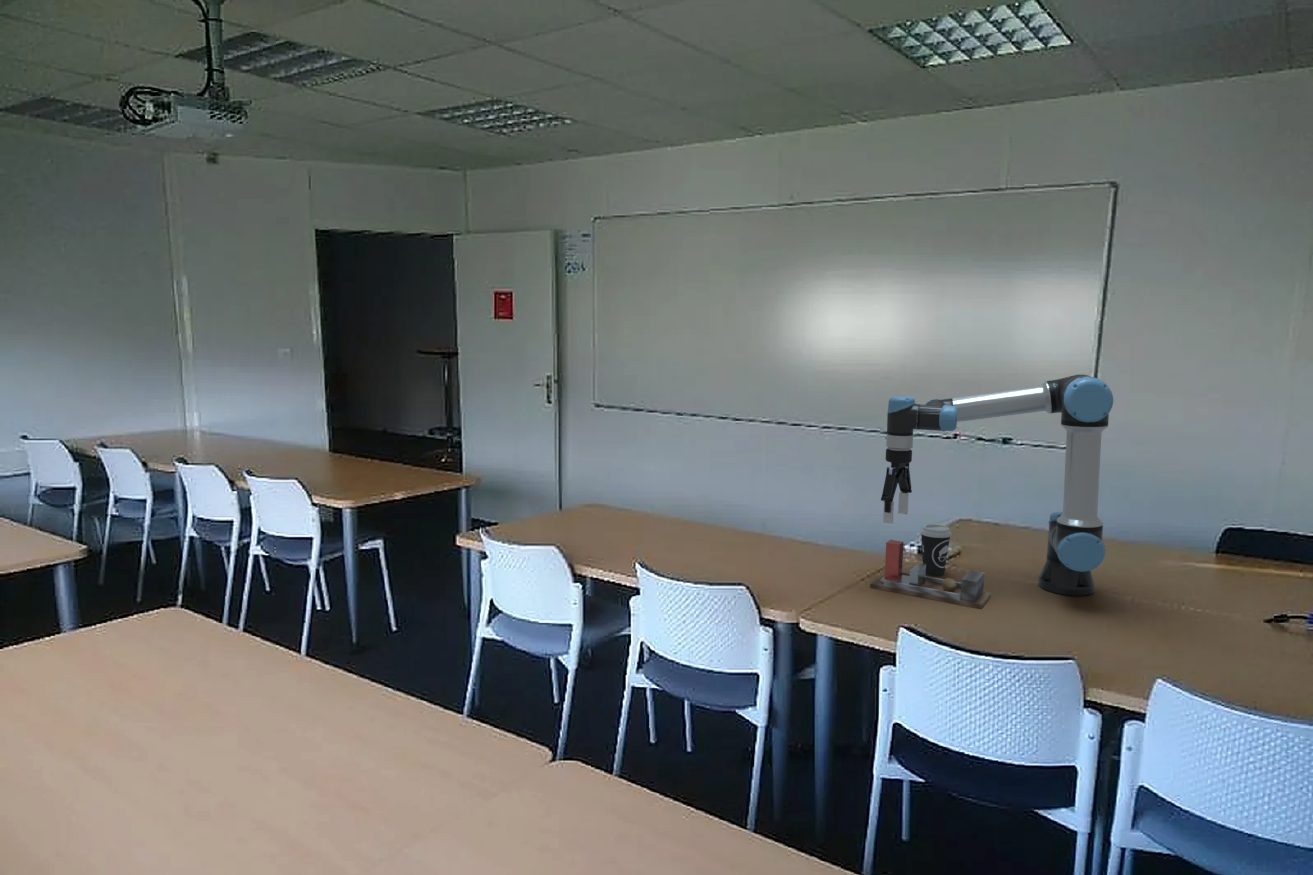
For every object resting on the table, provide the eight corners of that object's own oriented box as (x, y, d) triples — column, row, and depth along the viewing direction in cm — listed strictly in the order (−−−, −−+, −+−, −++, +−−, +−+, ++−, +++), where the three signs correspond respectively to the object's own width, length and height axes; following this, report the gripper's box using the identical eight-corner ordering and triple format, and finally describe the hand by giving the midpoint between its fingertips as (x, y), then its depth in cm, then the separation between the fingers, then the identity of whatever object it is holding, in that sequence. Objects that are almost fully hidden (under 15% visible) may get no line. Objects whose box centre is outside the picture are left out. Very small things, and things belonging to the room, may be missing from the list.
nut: (957, 591, 238) (958, 578, 238) (954, 594, 235) (954, 581, 234) (943, 588, 240) (944, 575, 240) (939, 592, 237) (940, 579, 236)
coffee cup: (945, 568, 263) (947, 523, 261) (952, 578, 253) (955, 531, 251) (915, 567, 264) (917, 523, 262) (921, 577, 254) (924, 530, 252)
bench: (990, 596, 237) (992, 573, 236) (981, 609, 227) (982, 584, 226) (883, 576, 255) (884, 554, 254) (870, 587, 245) (871, 564, 244)
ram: (925, 582, 245) (927, 543, 243) (917, 589, 239) (919, 549, 237) (889, 575, 251) (890, 537, 250) (880, 582, 245) (882, 543, 243)
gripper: (900, 442, 253) (896, 508, 257) (872, 453, 233) (868, 524, 236) (924, 444, 249) (920, 511, 252) (897, 455, 229) (894, 528, 232)
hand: (895, 518), depth 244 cm, fingers open, 13 cm apart
